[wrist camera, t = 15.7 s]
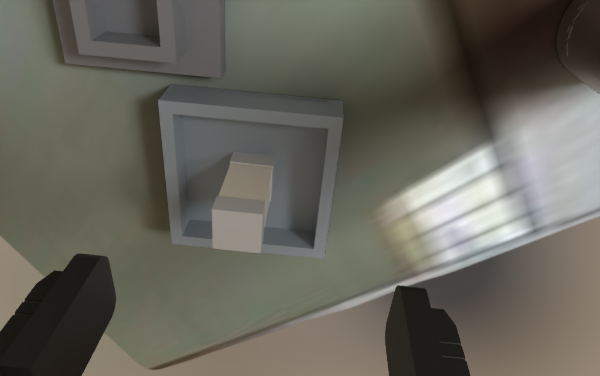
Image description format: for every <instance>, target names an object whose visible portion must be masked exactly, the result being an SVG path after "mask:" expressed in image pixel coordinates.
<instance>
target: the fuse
mask: <svg viewBox="0 0 600 376" xmlns="http://www.w3.org/2000/svg"><path fill="white" fill-rule="evenodd" d="M274 165H275V156H270V155H260V154H251V153H241V152H233V154H232V157H231V160H230V166H229V169H228V172H227V174H226V177H225V180H224V182H223V185H222V188H221V190H220V193H219V196H217V197H216V200H215V202H214V205H213V207H212V239H213V248H214V249H224V250H233V251H243V252H253V253H261V249H262V244H263V239H264V228H265V223H266V217H267V212H268V207H269V202H270V201H271V198H272V193H273V181H274Z"/></svg>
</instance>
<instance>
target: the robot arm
mask: <svg viewBox="0 0 600 376" xmlns="http://www.w3.org/2000/svg"><path fill="white" fill-rule="evenodd" d="M556 46H557V51H558V56H559V58H560V60H561V62H562V64H563V65H564V66H565V67H566V69H567V70H568V71H569V72H571V73H572V74H573V75H575V76H576V77H577V78H579V79H580V80H581V81H583V82H584V83H585V84H587V85H588V86H589V87H590V88H592V89H593V90H594V91H596V92H597V93H599V94H600V0H573V1H572V3H571V4H570V5H569V7H568V8H567V10H566V11H565V13H564V15H563V18H562V20H561V22H560V25H559V29H558V32H557V44H556ZM115 303H116V294H115V289H114V284H113V279H112V274H111V269H110V264H109V260H108V258H107V257H106V256H99V255H89V254H76V255H75V256H74V257H73V258H72V260H71V261H70V262H69V264H68V265H67V267H66V268H65V269H64V271H53V272H52V273H51V274H49V275H48V276H46V277H45V278H44V279H42V280H41V281H39V282H38V283H37V284H36V285H35V286H34V288H33V289H32V290H31V292H30V293H29V294H28V296H27V297H26V298H25V302H22V304H21V305H20V306H19V308H18V309H17V310H16V312H15V315H13V316H12V317H11V318H10V320H9V321H8V322H7V324H6V325H5V326H4V328H3V329H2V330H1V331H0V376H82V374H83V372H84V370H85V368H86V366H87V364H88V362H89V360H90V358H91V356H92V354H93V352H94V351H95V349H96V347H97V345H98V343H99V341H100V339H101V337H102V335H103V333H104V331H105V329H106V327H107V326H108V324H109V322H110V320H111V318H112V315H113V313H114V309H115ZM385 345H386V353H387V362H388V370H389V376H470V373H469V369H468V366H467V362H466V361H465V356H464V352H463V349H462V346H461V342H460V338H459V335H458V331H457V328H456V325H455V324H454V322H453V321H452V320H451V318H450V317H449V316H448V314H447V313H446V312H445V310H443V309H435V308H431V307H430V303H429V299H428V294H427V291H426V289H425V288H419V287H409V286H397V287H396V289H395V293H394V297H393V300H392V304H391V308H390V312H389V315H388V319H387V323H386V332H385Z"/></svg>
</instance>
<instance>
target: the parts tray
mask: <svg viewBox="0 0 600 376" xmlns="http://www.w3.org/2000/svg"><path fill="white" fill-rule="evenodd" d="M158 107H159V117H160V127H161V138H162V148H163V158H164V169H165V179H166V190H167V200H168V210H169V221H170V231H171V241H172V244H177V245H187V246H198V247H208V248H213V239H212V207H213V205H214V202H215V200H216V197H217V196H219V193H220V190H221V188H222V185H223V182H224V180H225V177H226V174H227V172H228V169H229V166H230V160H231V157H232V154H233V152H241V153H251V154H260V155H270V156H275V165H274V181H273V193H272V198H271V201H270V202H269V207H268V212H267V217H266V223H265V228H264V239H263V244H262V249H261V253H270V254H280V255H291V256H301V257H311V258H322V259H324V255H325V248H326V241H327V234H328V227H329V220H330V213H331V205H332V198H333V191H334V184H335V177H336V170H337V163H338V156H339V149H340V141H341V134H342V127H343V120H344V112H343V101H342V100H332V99H321V98H311V97H300V96H290V95H279V94H268V93H258V92H247V91H237V90H226V89H216V88H205V87H195V86H184V85H174V84H171V85H170V86H169V87H168V89H167V90H166V91H165V92H164V93H163V95H162V96H161V97H160V98H159V99H158Z"/></svg>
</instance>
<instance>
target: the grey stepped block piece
mask: <svg viewBox="0 0 600 376" xmlns="http://www.w3.org/2000/svg"><path fill="white" fill-rule="evenodd" d="M53 5H54V10H55V15H56V20H57V25H58V30H59V35H60V40H61V45H62V49H63V54H64V59H65V63H66V64H76V65H87V66H97V67H108V68H118V69H129V70H139V71H150V72H161V73H171V74H182V75H192V76H203V77H213V78H221V77H222V76H223V74H224V72H225V0H53Z"/></svg>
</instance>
